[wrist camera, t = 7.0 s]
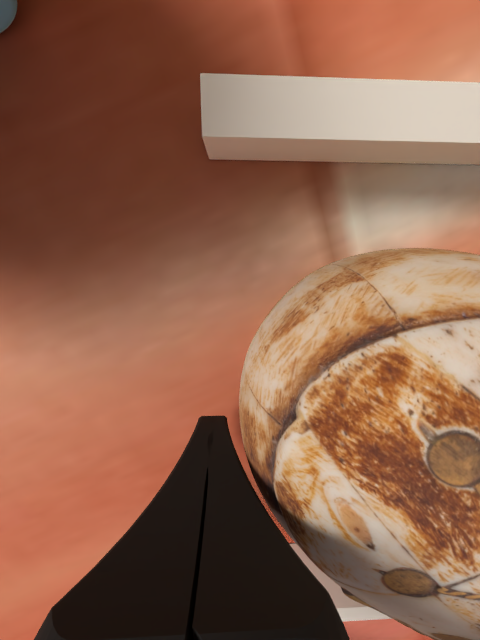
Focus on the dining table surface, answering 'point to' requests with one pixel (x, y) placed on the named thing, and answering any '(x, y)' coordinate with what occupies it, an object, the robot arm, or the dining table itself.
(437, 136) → the display bay
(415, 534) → the trinket box
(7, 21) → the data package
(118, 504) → the dining table surface
